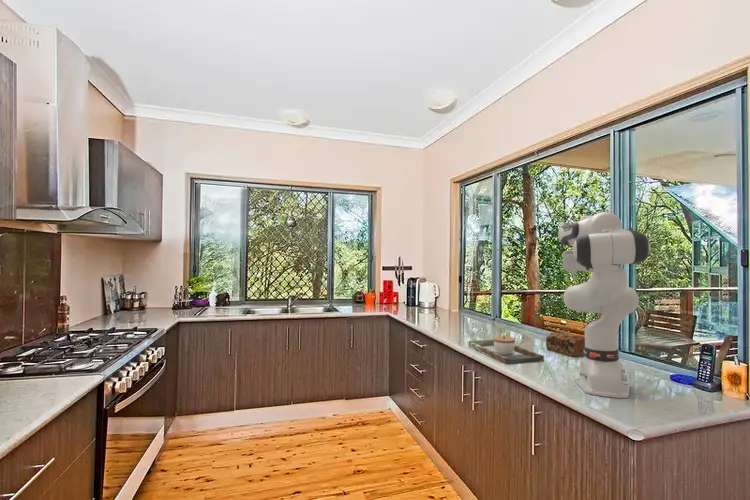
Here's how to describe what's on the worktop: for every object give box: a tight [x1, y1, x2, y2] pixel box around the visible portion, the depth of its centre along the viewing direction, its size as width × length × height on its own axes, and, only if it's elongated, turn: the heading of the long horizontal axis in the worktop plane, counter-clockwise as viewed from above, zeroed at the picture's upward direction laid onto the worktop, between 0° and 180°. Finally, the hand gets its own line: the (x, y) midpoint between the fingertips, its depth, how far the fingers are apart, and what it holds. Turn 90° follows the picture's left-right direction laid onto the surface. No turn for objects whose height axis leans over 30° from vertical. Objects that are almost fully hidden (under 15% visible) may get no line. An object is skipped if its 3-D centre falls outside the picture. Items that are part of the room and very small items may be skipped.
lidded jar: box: [493, 335, 516, 356], centre depth 203 cm, size 11×11×9 cm
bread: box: [545, 332, 585, 358], centre depth 204 cm, size 19×11×10 cm, turn 19°
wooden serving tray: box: [468, 339, 545, 365], centre depth 204 cm, size 38×20×3 cm, turn 14°
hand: (586, 281), depth 178 cm, fingers open, 8 cm apart
